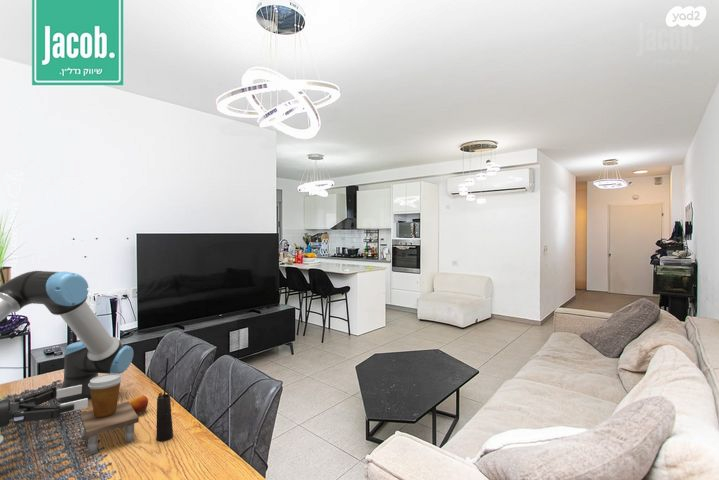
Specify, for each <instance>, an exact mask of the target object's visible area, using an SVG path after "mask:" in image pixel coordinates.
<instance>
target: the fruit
mask: <svg viewBox="0 0 719 480" xmlns="http://www.w3.org/2000/svg"><path fill="white" fill-rule="evenodd" d="M127 401H128V402H129V403H130V405H131V406H132V408H133V409H134V411H135V413H136V414H137V416H138V417H139V415H141V414H142V413H145V412H146V413H147V411H146V410H147V409H148V404H149V398H148V397H147V396H146V395H144V394H138V395H136V396H134V397H133V396H132V397H131V398H130V399H128V400H127Z"/></svg>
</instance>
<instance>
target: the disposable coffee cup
mask: <svg viewBox="0 0 719 480" xmlns="http://www.w3.org/2000/svg"><path fill="white" fill-rule="evenodd" d="M122 380H123V378H122V375H121V374H105V373H104V374H102V375H98V376H97V377H95V378H93V379H91V380H90V383H89V384H88V386H89V388H90V393H91V399H90V400H91V405H92V406H91V407H92V410H93V413H94V416H95V417H105V416H108V415H111V414H113V413H114V412H116V408H117V404H118V401H119V396H120V394H119V392H120V387H121V383H122Z"/></svg>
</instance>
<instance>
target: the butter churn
mask: <svg viewBox="0 0 719 480" xmlns="http://www.w3.org/2000/svg"><path fill="white" fill-rule="evenodd" d="M168 367H169V358H167V359H166V365H165V376H164V377H165V378H164V385H163V386H164V387H163V393H162V392H159V393H158V396H157V397H156V398H157V399H156V400H157V401H156V424H155V425H156V428H155V429H156V430H155V432H156V434H155V435H156V436H155V440H156V441H157V442H159V443H164V442H167V441H169V440H171V439H172V438H173V437H174V429H173V428H174V427H173V420H172V419H173V418H172V417H173V416H172V404H171V402H172V401H171V394H170V393H166V391H167V380H168Z"/></svg>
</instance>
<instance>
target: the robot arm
mask: <svg viewBox="0 0 719 480" xmlns="http://www.w3.org/2000/svg"><path fill="white" fill-rule="evenodd" d="M88 288H89V284H88V281H87V280H86V279H85V277H83V276H82V275H81V274H78V273H76V272H72V271H71V272H70V271H47V270H45V271H44V270H32V271H28V272H24V273H21V274H19V275H17V276H15V277H13V278H11V279H10V280H8V281H6V282H4V283H2V284H1V285H0V322H2V321H3V320H4V319H6V317H8V316H9V315H10V314H12V313H18V312H19V311H20V310H21V309H23V308H24V307H25V306H28V305H32V304H36V305H43V306H45V307H46V309H47V310H48V311H49V312H50V313H51V314H52V315H55V316H60V317H61V318H62V319H63V321H64V322H65V324H67V326H68V327H69V328H70V329H71V331H72V332H73V333H74V335H75V336H76V337H77V338H78V340H79V341H76V342H73V343H70V344H68V345H67V346H66V347H65V351H64V355H63V357H64V362H63V363H64V364H63V380H62V383H61V386H60V388H59V389H57V387H55V386H54V387H51V388H48V389H46V390H45V389H44V390H42V391H39V392H35V393H33V394H30V395H26V396H23V397H19V398H14V400H13V403H11V399H10V398H7V399H2V400H0V429H1V428H5V427H8V426H9V425H10V421H11V420H13V424H15V425H16V424H21V423H25V422H36V421H46V420H56V419H60V417H61V414H66V413H70V412H75V411H78V410H83V409H87V408H88V403H89V400H92V399H91V393H90V388H89V386H88V384H89V383H90V380H91V379H93V378H95V377H97V376H99V374H104V375H105V374H120V375H121V374H123V373H124V372H126V370H128V368H129V367H130V365H131V363H132V362H133V358H134V349H133V347H131V346H130V345H127V344H126V345H123V343H121V342H120V340H119V339H118V338H117V337H115V336H111V334H110V333H109V332H108V330H107V328H105V326H104V325H103V324H102V322H101V321H100V320H99V318H98V317H97V315H96V313H95V312H94V311H93V309H92V308H91V307H90V306H89V304H88V302H87V300H88V294H89V290H88ZM53 399H57V400H56V401H58V402H60V404H59V405H42V404H44V403H47V402H49V401H50V400H53Z"/></svg>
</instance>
